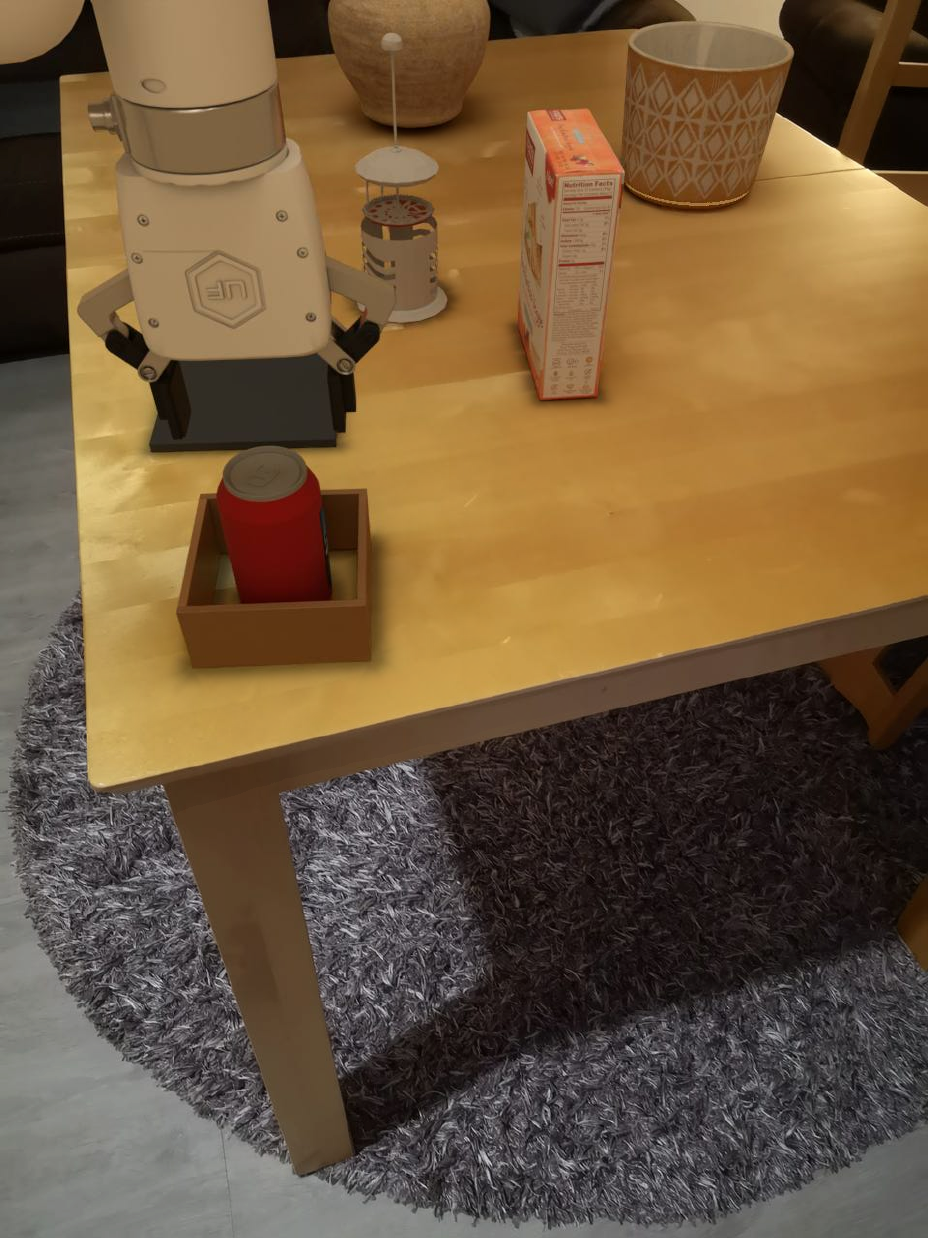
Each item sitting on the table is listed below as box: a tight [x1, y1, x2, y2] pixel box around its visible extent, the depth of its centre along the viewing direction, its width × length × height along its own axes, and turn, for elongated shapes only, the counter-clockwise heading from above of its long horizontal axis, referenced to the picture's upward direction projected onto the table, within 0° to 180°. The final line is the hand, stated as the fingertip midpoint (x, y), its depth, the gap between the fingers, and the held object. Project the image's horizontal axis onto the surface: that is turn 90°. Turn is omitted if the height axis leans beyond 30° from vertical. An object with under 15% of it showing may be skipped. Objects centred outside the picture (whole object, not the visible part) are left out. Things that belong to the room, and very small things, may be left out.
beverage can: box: [216, 446, 333, 604], centre depth 64 cm, size 7×7×12 cm
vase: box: [327, 0, 491, 129], centre depth 127 cm, size 22×22×30 cm
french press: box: [354, 33, 448, 324], centre depth 91 cm, size 10×12×25 cm
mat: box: [148, 353, 338, 453], centre depth 86 cm, size 16×16×1 cm
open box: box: [175, 488, 372, 669], centre depth 66 cm, size 12×12×6 cm
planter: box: [620, 20, 795, 211], centre depth 115 cm, size 19×19×16 cm
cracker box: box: [517, 108, 625, 401], centre depth 84 cm, size 14×6×21 cm, turn 6°
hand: (262, 423), depth 57 cm, fingers open, 9 cm apart
